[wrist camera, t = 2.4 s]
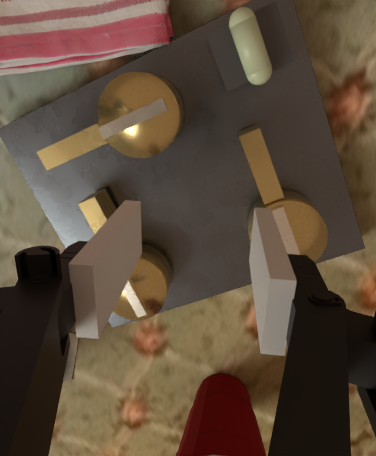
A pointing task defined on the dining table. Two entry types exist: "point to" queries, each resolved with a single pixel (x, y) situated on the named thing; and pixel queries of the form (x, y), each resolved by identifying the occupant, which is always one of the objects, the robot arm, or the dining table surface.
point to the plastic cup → (221, 421)
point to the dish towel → (78, 31)
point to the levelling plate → (196, 162)
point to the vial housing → (250, 46)
